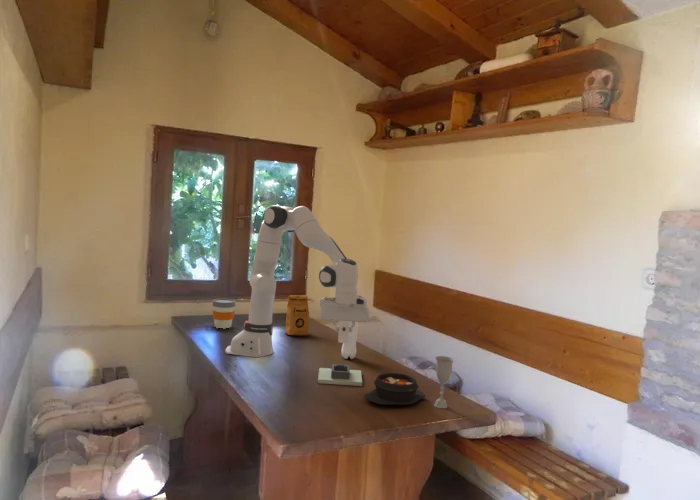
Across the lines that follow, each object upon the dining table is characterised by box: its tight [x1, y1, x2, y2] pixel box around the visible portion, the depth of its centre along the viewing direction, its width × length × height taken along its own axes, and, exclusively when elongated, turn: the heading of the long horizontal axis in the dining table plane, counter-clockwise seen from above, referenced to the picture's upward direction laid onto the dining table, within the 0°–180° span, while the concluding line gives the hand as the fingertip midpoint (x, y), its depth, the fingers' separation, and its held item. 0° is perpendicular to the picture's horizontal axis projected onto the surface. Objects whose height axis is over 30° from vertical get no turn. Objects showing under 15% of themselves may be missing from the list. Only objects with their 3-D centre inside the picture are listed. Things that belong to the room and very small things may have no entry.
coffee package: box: [284, 294, 310, 336], centre depth 298 cm, size 10×12×22 cm
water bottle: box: [340, 321, 359, 360], centre depth 258 cm, size 7×7×25 cm
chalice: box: [433, 355, 455, 409], centre depth 203 cm, size 7×7×18 cm
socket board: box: [317, 363, 363, 387], centre depth 227 cm, size 18×16×4 cm
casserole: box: [363, 372, 426, 406], centre depth 206 cm, size 25×19×8 cm
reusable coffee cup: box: [212, 298, 236, 330], centre depth 303 cm, size 13×13×15 cm
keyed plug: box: [337, 320, 349, 344], centre depth 224 cm, size 4×9×9 cm, turn 1°
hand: (343, 331), depth 225 cm, fingers closed on keyed plug, 4 cm apart
